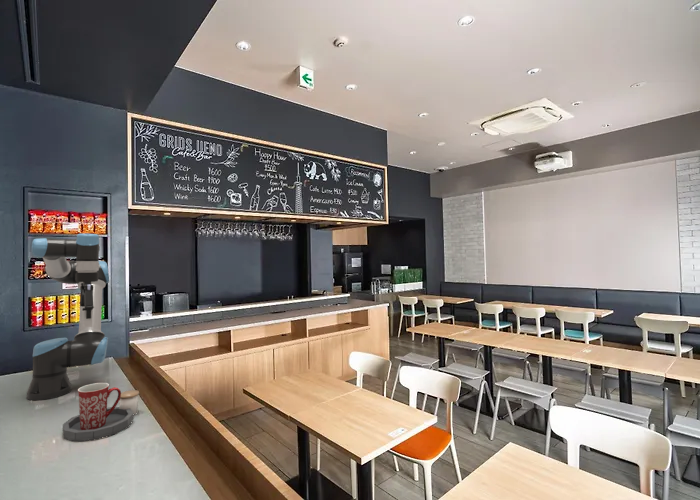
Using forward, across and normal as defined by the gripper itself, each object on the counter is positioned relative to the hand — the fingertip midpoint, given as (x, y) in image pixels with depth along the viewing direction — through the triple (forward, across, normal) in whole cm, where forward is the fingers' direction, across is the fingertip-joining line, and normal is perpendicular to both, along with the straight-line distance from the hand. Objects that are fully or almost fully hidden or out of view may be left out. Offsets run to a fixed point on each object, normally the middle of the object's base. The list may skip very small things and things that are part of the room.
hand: (86, 324), depth 147 cm
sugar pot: (+33, +20, +12) cm, 40 cm away
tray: (+33, +26, +2) cm, 42 cm away
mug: (+32, +26, +2) cm, 41 cm away
